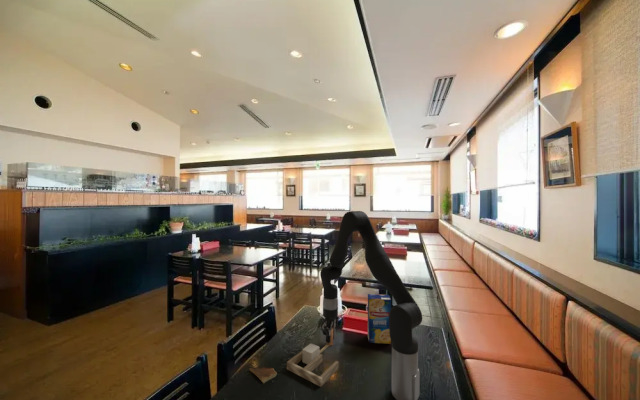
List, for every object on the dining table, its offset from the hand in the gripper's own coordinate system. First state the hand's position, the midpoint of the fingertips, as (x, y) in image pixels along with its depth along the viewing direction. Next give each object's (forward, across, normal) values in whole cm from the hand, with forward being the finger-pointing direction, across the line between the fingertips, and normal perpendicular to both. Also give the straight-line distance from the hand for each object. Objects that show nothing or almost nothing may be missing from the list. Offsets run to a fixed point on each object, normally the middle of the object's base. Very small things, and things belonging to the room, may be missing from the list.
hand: (330, 340), depth 125 cm
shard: (+2, -36, +10) cm, 37 cm away
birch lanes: (+2, -20, -4) cm, 21 cm away
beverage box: (+2, +18, -18) cm, 26 cm away
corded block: (+2, -9, 0) cm, 9 cm away
